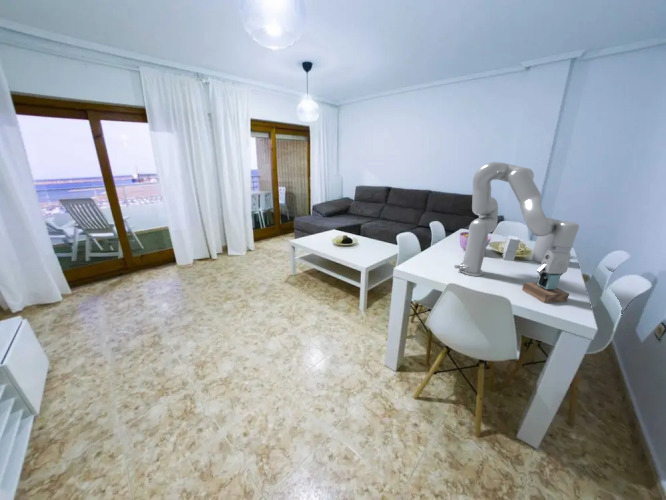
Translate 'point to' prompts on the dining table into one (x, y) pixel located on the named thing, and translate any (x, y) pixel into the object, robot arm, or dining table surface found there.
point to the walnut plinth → (545, 293)
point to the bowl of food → (464, 239)
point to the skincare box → (510, 248)
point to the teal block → (551, 281)
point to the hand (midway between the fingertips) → (546, 284)
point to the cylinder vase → (541, 247)
